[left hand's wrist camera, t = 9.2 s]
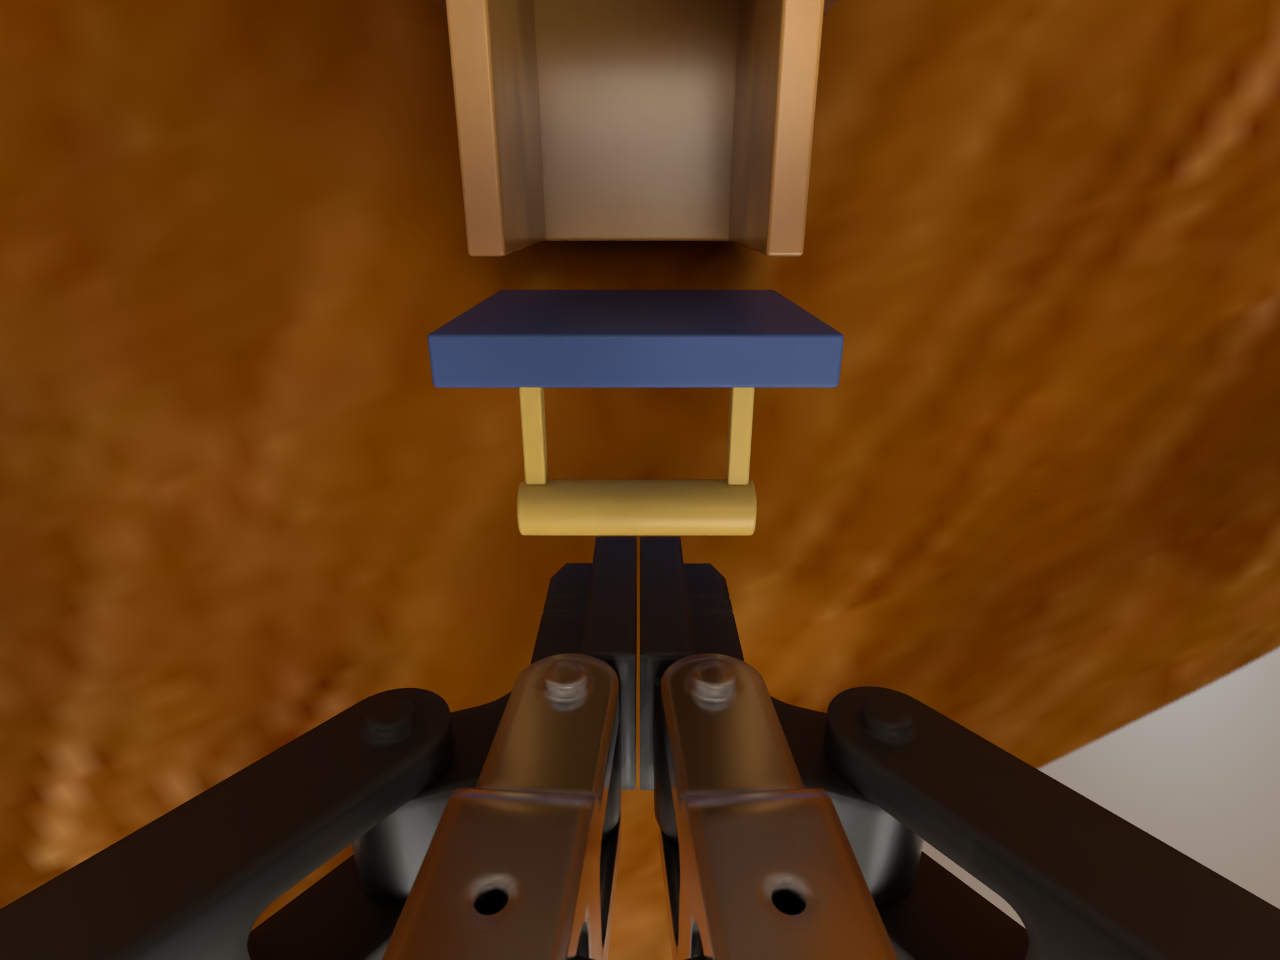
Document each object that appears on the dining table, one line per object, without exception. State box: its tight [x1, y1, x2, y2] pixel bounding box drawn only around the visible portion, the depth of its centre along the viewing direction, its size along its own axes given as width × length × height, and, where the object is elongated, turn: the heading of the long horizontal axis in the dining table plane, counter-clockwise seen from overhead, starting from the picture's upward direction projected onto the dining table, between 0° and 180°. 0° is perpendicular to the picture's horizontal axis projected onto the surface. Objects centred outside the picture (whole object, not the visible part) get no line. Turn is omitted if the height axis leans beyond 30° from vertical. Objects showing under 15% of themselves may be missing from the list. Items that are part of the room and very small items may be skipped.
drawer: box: [428, 0, 844, 535], centre depth 17 cm, size 23×9×8 cm, turn 0°
